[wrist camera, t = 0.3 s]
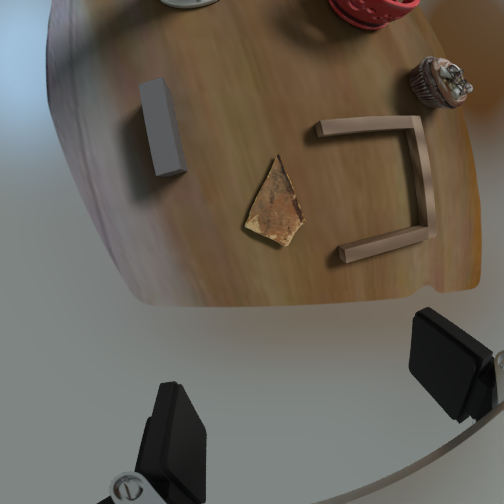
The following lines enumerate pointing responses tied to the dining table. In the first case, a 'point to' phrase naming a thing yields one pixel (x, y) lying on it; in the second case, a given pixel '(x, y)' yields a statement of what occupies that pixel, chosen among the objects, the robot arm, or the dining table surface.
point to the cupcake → (439, 83)
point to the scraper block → (162, 128)
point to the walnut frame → (421, 179)
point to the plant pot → (372, 11)
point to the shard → (276, 207)
